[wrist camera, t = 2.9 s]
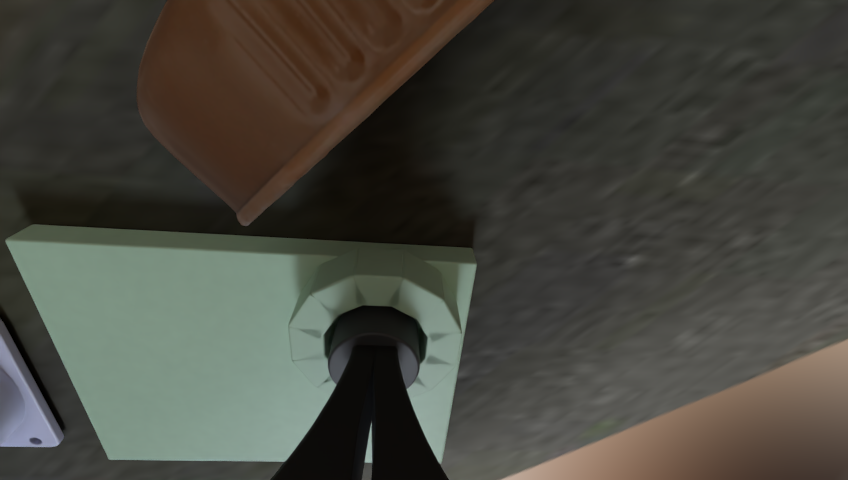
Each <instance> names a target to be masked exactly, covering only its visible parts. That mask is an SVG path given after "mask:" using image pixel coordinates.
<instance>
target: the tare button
mask: <svg viewBox="0 0 848 480" xmlns="http://www.w3.org/2000/svg"><path fill="white" fill-rule="evenodd" d="M356 345H374V346H395V347H396V348H397V349H398V357H399V363H400V368H401V372H402V376H403V380H404V383H405V386H406V389H408V388H409V387H410V386H411V385H412V384H413V382H414V381H415V379H416V378H417V376H418V373H419V369H420V356H419V333H418V326H417V323H416V321H415V319H414V318H413V317H411V316H409V315H407V314H405V313H403V312H401V311H399V310H397V309H395V308H393V307H391V306H367V305H362V306H360V307H357V308H355V309H352V310H350V311H348V312H345V313H343V314H342V315H341V316H340V318H339V319H338V321H337V323H336V327H335V332H334V336H333V340H332V345H331V349H330V354H329V358H328V370H329V374H330V376H331V378H332V380H333V381H334V383H335V384H336V385H337V383H338V381H339V379H340V377H341V375H342V373H343V371H344V369H345V367H346V365H347V363H348V360H349V358H350V355H351V352H352V349H353V347H354V346H356Z"/></svg>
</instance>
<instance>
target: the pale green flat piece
mask: <svg viewBox="0 0 848 480" xmlns="http://www.w3.org/2000/svg"><path fill="white" fill-rule="evenodd" d="M5 241H6V244H7V246H8V248H9V250H10V252H11V254H12V256H13V258H14V260H15V263H16V265H17V267H18V269H19V271H20V273H21V275H22V277H23V279H24V281H25V284H26V286H27V288H28V290H29V292H30V294H31V296H32V298H33V300H34V303H35V305H36V307H37V309H38V311H39V313H40V315H41V317H42V319H43V321H44V324H45V326H46V328H47V330H48V332H49V334H50V336H51V338H52V340H53V343H54V345H55V347H56V349H57V351H58V353H59V355H60V357H61V359H62V362H63V364H64V366H65V368H66V370H67V372H68V374H69V376H70V378H71V380H72V383H73V385H74V387H75V389H76V391H77V393H78V395H79V397H80V399H81V402H82V404H83V406H84V408H85V410H86V412H87V414H88V416H89V418H90V421H91V423H92V425H93V427H94V429H95V431H96V433H97V435H98V437H99V439H100V442H101V444H102V446H103V448H104V450H105V452H106V454H107V456H108V458H109V459H110V460H191V461H284V462H285V461H286V460H287V459H288V458H289V456H290V455H291V454H292V453H293V451H294V450H295V449H296V447H297V446H298V445H299V443H300V442H301V440H302V439H303V438H304V436H305V435H306V433H307V432H308V431H309V429H310V428H311V426H312V425H313V423H314V422H315V420H316V419H317V417H318V415H319V414H320V412H321V411H322V409H323V407H324V406H325V404H326V403H327V401H328V399H329V398H330V396H331V394H332V392H333V390H334V389H335V387H336V384H335V383H334V381H333V380H332V378H331V376H330V374H329V370H328V358H329V354H330V349H331V345H332V340H333V336H334V332H335V327H336V323H337V321H338V319H339V318H340V316H341V315H342V314H343V313H345V312H348V311H350V310H352V309H355V308H357V307H360V306H362V305H367V306H391V307H393V308H395V309H397V310H399V311H401V312H403V313H405V314H407V315H409V316H411V317H413V318H414V319H415V321H416V323H417V326H418V333H419V356H420V369H419V373H418V376H417V378H416V379H415V381H414V382H413V384H412V385H411V386H410V387H409V388H408V389H407V392H408V395H409V398H410V401H411V404H412V406H413V409H414V411H415V414H416V416H417V419H418V421H419V423H420V426H421V428H422V430H423V432H424V435H425V437H426V439H427V441H428V443H429V445H430V447H431V449H432V451H433V453H434V455H435V457H436V458H437V460H438V462H439V463H442V460H443V454H444V448H445V443H446V437H447V431H448V426H449V420H450V414H451V409H452V403H453V397H454V392H455V386H456V380H457V374H458V369H459V363H460V357H461V352H462V346H463V340H464V335H465V329H466V323H467V318H468V312H469V306H470V301H471V295H472V289H473V284H474V278H475V272H476V267H477V263H476V259H475V256H474V253H473V249H472V248H464V247H445V246H427V245H408V244H390V243H371V242H352V241H334V240H315V239H297V238H278V237H260V236H241V235H223V234H204V233H186V232H167V231H148V230H130V229H111V228H93V227H74V226H56V225H37V224H33V225H31V226H29V227H27V228H25V229H23V230H22V231H20V232H18V233H16V234H14V235H12V236H11V237H9V238H7V239H6V240H5ZM365 462H372V421H371V427H370V433H369V439H368V445H367V451H366V456H365Z"/></svg>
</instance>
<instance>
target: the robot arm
mask: <svg viewBox="0 0 848 480" xmlns="http://www.w3.org/2000/svg"><path fill="white" fill-rule="evenodd" d="M371 421H372V480H449V479H448V478H447V476H446V474H445V473H444V471H443V469H442V468H441V466H440V464H439V462H438V460H437V458H436V457H435V455H434V453H433V451H432V449H431V447H430V445H429V443H428V441H427V439H426V437H425V435H424V432H423V430H422V428H421V426H420V423H419V421H418V419H417V416H416V414H415V411H414V409H413V406H412V404H411V401H410V398H409V395H408V392H407V389H406V386H405V383H404V380H403V376H402V372H401V368H400V363H399V357H398V349H397V348H396V347H395V346H374V345H356V346H354V347H353V349H352V352H351V355H350V358H349V360H348V363H347V365H346V367H345V369H344V371H343V373H342V375H341V377H340V379H339V381H338V383H337V385H336V387H335V389H334V390H333V392H332V394H331V396H330V398H329V399H328V401H327V403H326V404H325V406H324V407H323V409H322V411H321V412H320V414H319V415H318V417H317V419H316V420H315V422H314V423H313V425H312V426H311V428H310V429H309V431H308V432H307V433H306V435H305V436H304V438H303V439H302V440H301V442H300V443H299V445H298V446H297V447H296V449H295V450H294V451H293V453H292V454H291V455H290V456H289V458H288V459H287V460H286V461H285V462H284V464H283V465H282V466H281V467H280V469H279V470H278V471H277V472H276V474H275V475H274V476H273V477H272V478H271V479H270V480H362V474H363V468H364V462H365V456H366V451H367V445H368V439H369V433H370V427H371ZM63 438H64V434H63V432H62V430H61V429H60V427H59V425H58V423H57V421H56V419H55V417H54V416H53V414H52V412H51V410H50V408H49V406H48V404H47V402H46V401H45V399H44V397H43V395H42V393H41V391H40V389H39V388H38V386H37V384H36V382H35V380H34V378H33V376H32V375H31V373H30V371H29V369H28V367H27V365H26V363H25V361H24V360H23V358H22V356H21V354H20V352H19V350H18V348H17V347H16V345H15V343H14V341H13V339H12V337H11V335H10V334H9V332H8V330H7V328H6V326H5V324H4V322H3V321H2V320H1V318H0V446H6V447H55V446H57V445H59V443H60V442H61V441H62V440H63Z"/></svg>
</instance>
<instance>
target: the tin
mask: <svg viewBox="0 0 848 480" xmlns="http://www.w3.org/2000/svg"><path fill="white" fill-rule="evenodd" d="M493 1H494V0H167V2H166V4H165V6H164V8H163V10H162V12H161V13H160V15H159V17H158V19H157V21H156V24H155V26H154V28H153V30H152V33H151V35H150V37H149V40H148V42H147V44H146V48H145V51H144V54H143V57H142V60H141V63H140V66H139V74H138V82H137V105H138V110H139V114H140V116H141V118H142V120H143V122H144V124H145V126H146V127H147V128H148V130H149V131H150V132H151V133H152V135H153V136H154V137H155V138H156V139H157V140H158V141H159V142H160V143H161V144H162V145H163V146H164V147H165V148H166V149H167V150H168V151H169V152H170V153H171V154H172V155H173V156H174V157H175V158H177V159H178V160H179V161H180V162H181V163H182V164H183V165H184V166H185V167H186V168H188V169H189V170H190V171H191V172H192V173H193V174H194V175H195V176H196V177H198V178H199V179H200V180H201V181H202V182H203V183H204V184H205V185H206V186H208V187H209V188H210V189H211V190H212V191H213V192H214V193H215V194H217V195H218V196H219V197H220V198H221V199H222V200H223V201H224V202H225V203H227V204H228V205H229V206H230V207H231V208H232V209H233V210H234V211H235V212H236V215H237V219H238V221H239V222H240V223H241V225H243V226H247V225H249V224H250V223H251V222H253V220H254V219H256V218H257V217H258V216H259V215H260V214H261V213H262V212H263V211H264V210H265V209H266V208H268V207H269V206H270V205H272V204H273V203H274V202H275V201H276V200H277V199H278V198H280V197H281V196H282V195H283V194H284V193H285V192H286V191H287V190H288V189H290V188H291V187H292V186H293V185H294V184H295V182H296V181H297V180H298V179H299V178H301V177H302V176H303V175H305V174H306V173H307V172H308V171H309V170H310V169H311V168H312V167H313V166H314V165H316V164H317V163H318V162H319V161H320V160H321V159H323V158H324V157H326V155H327V154H328V152H329V151H330V150H331V149H333V148H334V147H335V146H336V145H337V144H338V143H339V142H341V141H342V140H343V139H344V138H345V137H346V136H347V135H348V134H349V133H350V132H352V131H353V130H354V129H355V128H356V127H357V126H358V125H360V124H361V123H362V122H363V121H364V120H365V119H366V118H367V117H369V116H370V115H371V114H372V113H373V112H374V111H375V110H376V109H377V108H378V107H379V106H380V105H381V104H382V103H383V102H384V101H385V100H386V99H387V98H388V97H389V96H390V95H392V94H393V93H394V92H395V91H396V90H397V89H398V88H399V87H400V86H402V85H403V84H404V83H405V82H406V81H407V80H408V79H409V78H411V77H412V76H413V75H414V74H415V73H416V72H417V71H418V70H419V69H420V68H421V67H422V66H424V65H425V64H426V63H427V62H428V61H429V60H430V59H431V58H432V57H433V56H434V55H435V54H437V53H438V52H439V51H440V50H441V49H442V48H443V47H444V46H445V45H446V44H447V43H448V42H449V41H450V40H451V39H452V38H453V37H454V36H456V35H457V34H458V33H459V32H460V31H461V30H462V29H464V28H465V27H466V26H467V25H468V24H469V23H471V22H472V21H473V20H474V19H475V18H476V17H477V16H478V15H479V14H480V13H481V12H482V11H483V10H484V9H486V8H487V7H488V6H489V5H490V4H491V3H492V2H493Z"/></svg>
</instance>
